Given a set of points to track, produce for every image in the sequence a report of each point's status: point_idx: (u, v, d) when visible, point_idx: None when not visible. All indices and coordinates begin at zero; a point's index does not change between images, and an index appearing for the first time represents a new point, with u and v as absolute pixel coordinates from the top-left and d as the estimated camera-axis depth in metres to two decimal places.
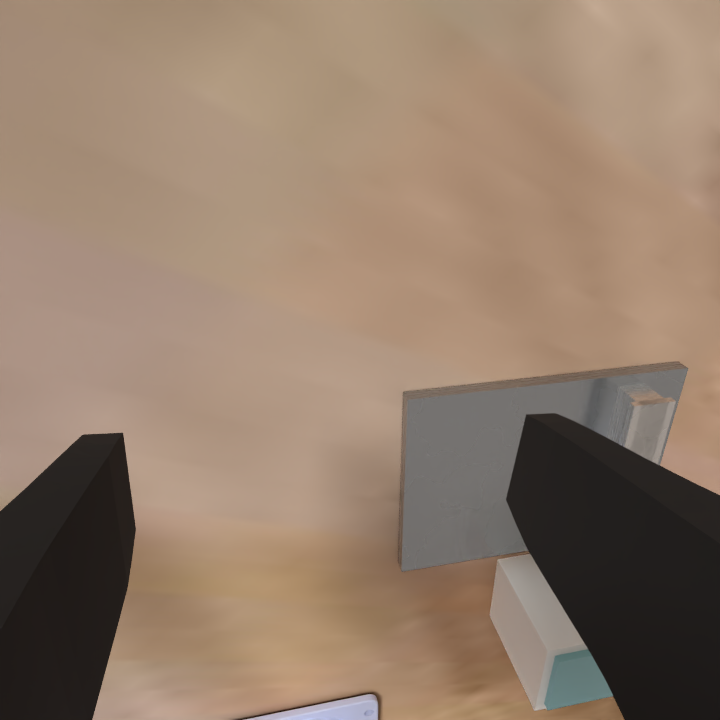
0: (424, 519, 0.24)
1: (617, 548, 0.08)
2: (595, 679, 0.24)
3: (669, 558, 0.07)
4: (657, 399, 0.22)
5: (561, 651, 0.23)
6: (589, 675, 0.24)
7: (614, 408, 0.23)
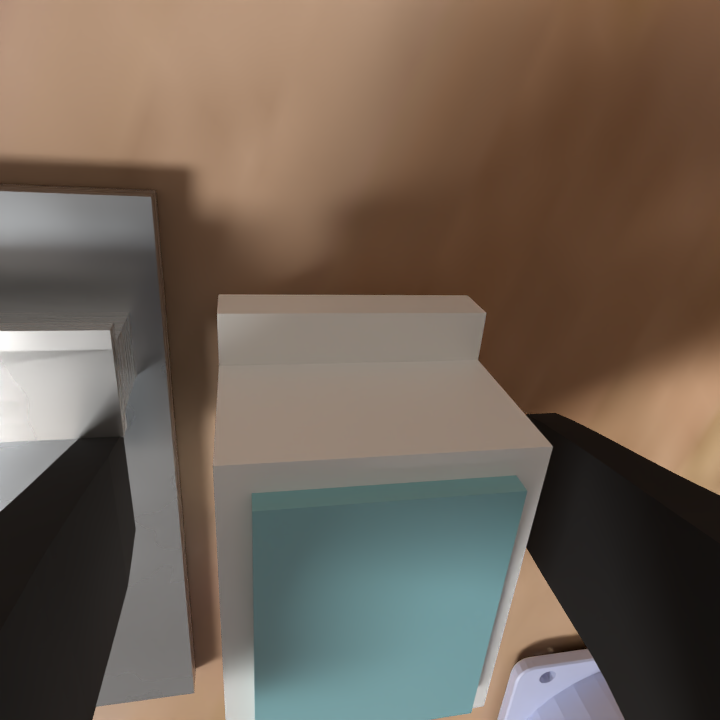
0: None
1: (617, 548, 0.08)
2: (388, 634, 0.07)
3: (669, 558, 0.07)
4: None
5: (238, 717, 0.08)
6: (356, 657, 0.07)
7: None
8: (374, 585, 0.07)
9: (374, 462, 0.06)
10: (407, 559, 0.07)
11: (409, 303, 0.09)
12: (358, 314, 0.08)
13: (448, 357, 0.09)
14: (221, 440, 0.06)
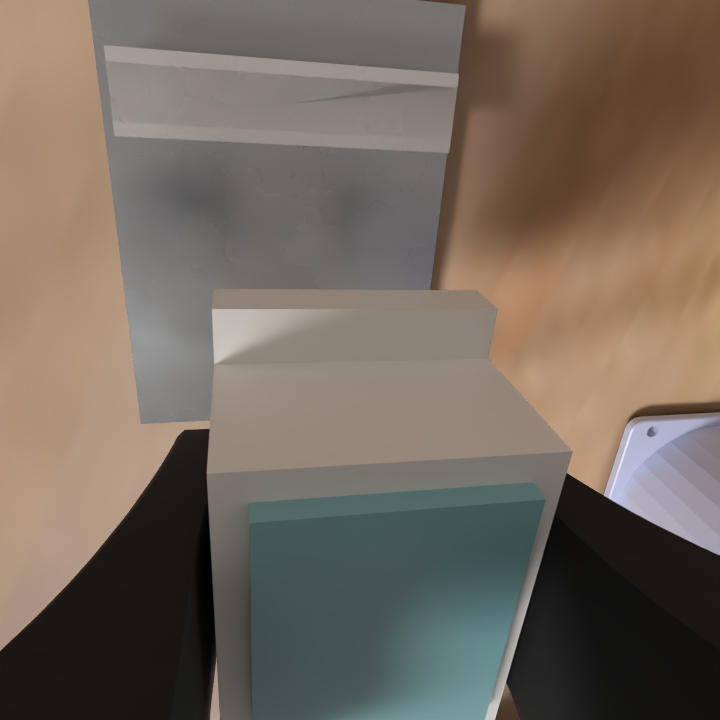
0: None
1: None
2: (395, 651, 0.07)
3: (560, 570, 0.07)
4: None
5: None
6: (360, 676, 0.07)
7: None
8: (381, 600, 0.06)
9: (382, 470, 0.06)
10: (416, 572, 0.06)
11: (415, 298, 0.08)
12: (362, 310, 0.08)
13: (457, 355, 0.08)
14: (216, 445, 0.06)
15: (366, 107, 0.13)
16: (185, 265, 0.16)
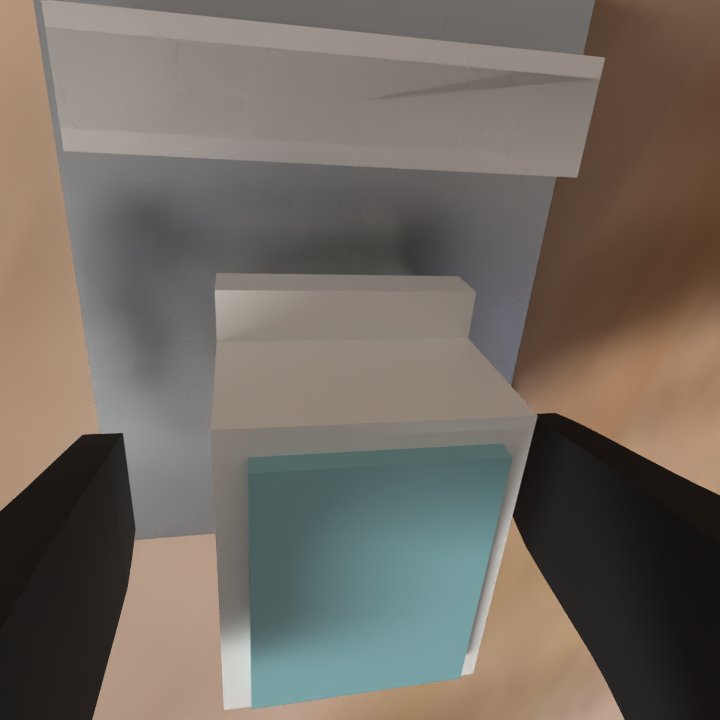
0: None
1: (618, 548, 0.08)
2: (380, 597, 0.08)
3: (669, 558, 0.07)
4: None
5: (235, 680, 0.08)
6: (348, 620, 0.08)
7: None
8: (366, 548, 0.07)
9: (366, 429, 0.07)
10: (398, 524, 0.07)
11: (401, 282, 0.09)
12: (351, 292, 0.08)
13: (439, 335, 0.09)
14: (219, 407, 0.07)
15: (462, 108, 0.09)
16: (179, 333, 0.11)
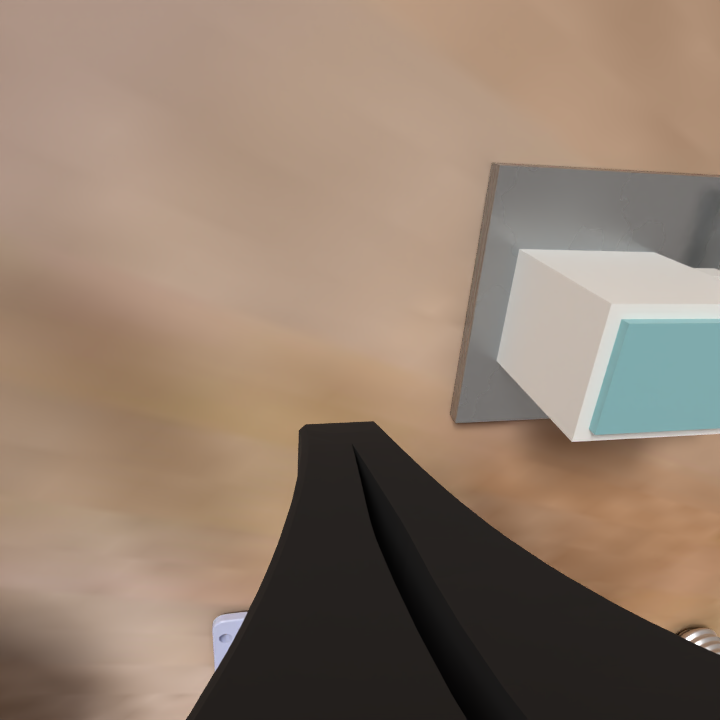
0: (493, 350, 0.19)
1: None
2: (677, 383, 0.15)
3: (408, 587, 0.06)
4: None
5: (632, 310, 0.14)
6: (669, 370, 0.14)
7: None
8: (709, 374, 0.15)
9: None
10: (716, 386, 0.15)
11: None
12: None
13: None
14: None
15: None
16: (635, 227, 0.18)
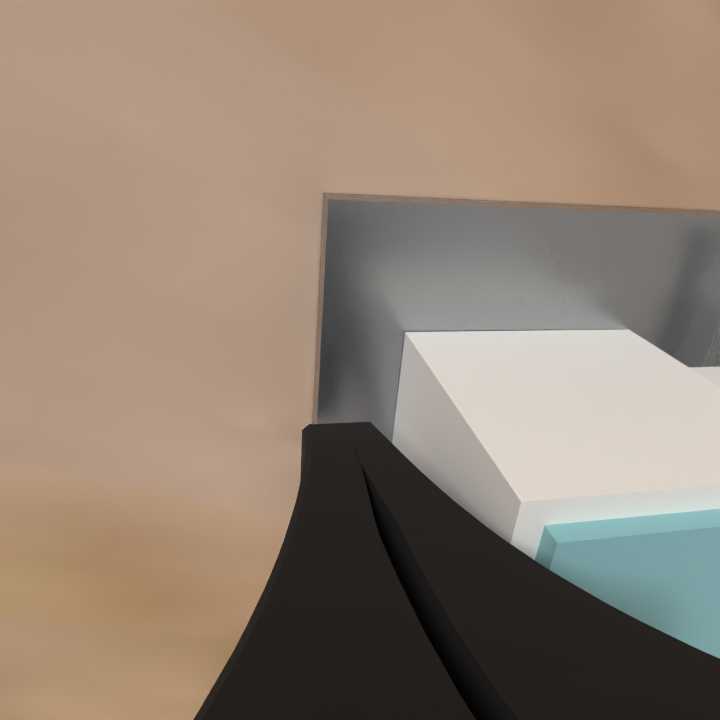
0: None
1: None
2: (659, 623, 0.08)
3: (403, 588, 0.06)
4: None
5: (567, 509, 0.07)
6: (643, 606, 0.07)
7: None
8: None
9: None
10: None
11: None
12: None
13: None
14: None
15: None
16: (574, 295, 0.11)
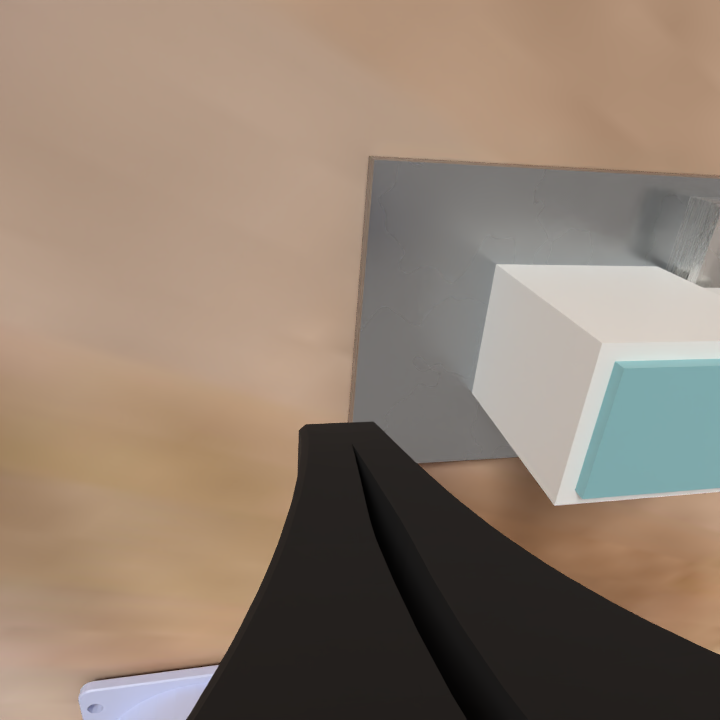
0: (387, 384, 0.16)
1: None
2: (684, 437, 0.12)
3: (408, 587, 0.06)
4: None
5: (629, 351, 0.11)
6: (675, 422, 0.12)
7: (680, 234, 0.16)
8: None
9: None
10: None
11: None
12: None
13: None
14: None
15: None
16: (555, 236, 0.15)
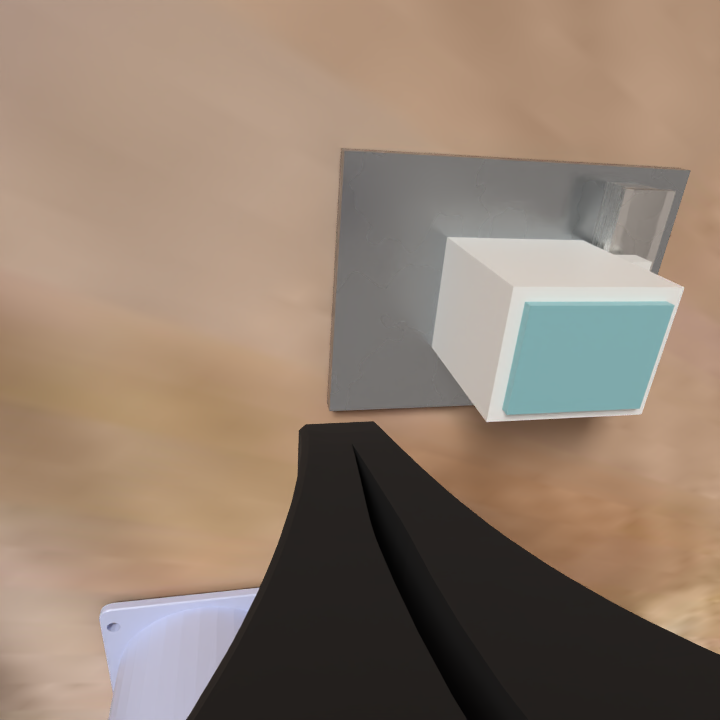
0: (360, 338, 0.19)
1: None
2: (585, 364, 0.15)
3: (408, 587, 0.06)
4: (653, 189, 0.18)
5: (535, 293, 0.14)
6: (575, 351, 0.15)
7: (600, 213, 0.19)
8: (617, 355, 0.15)
9: (661, 347, 0.16)
10: (625, 367, 0.15)
11: None
12: None
13: None
14: None
15: None
16: (495, 213, 0.18)
